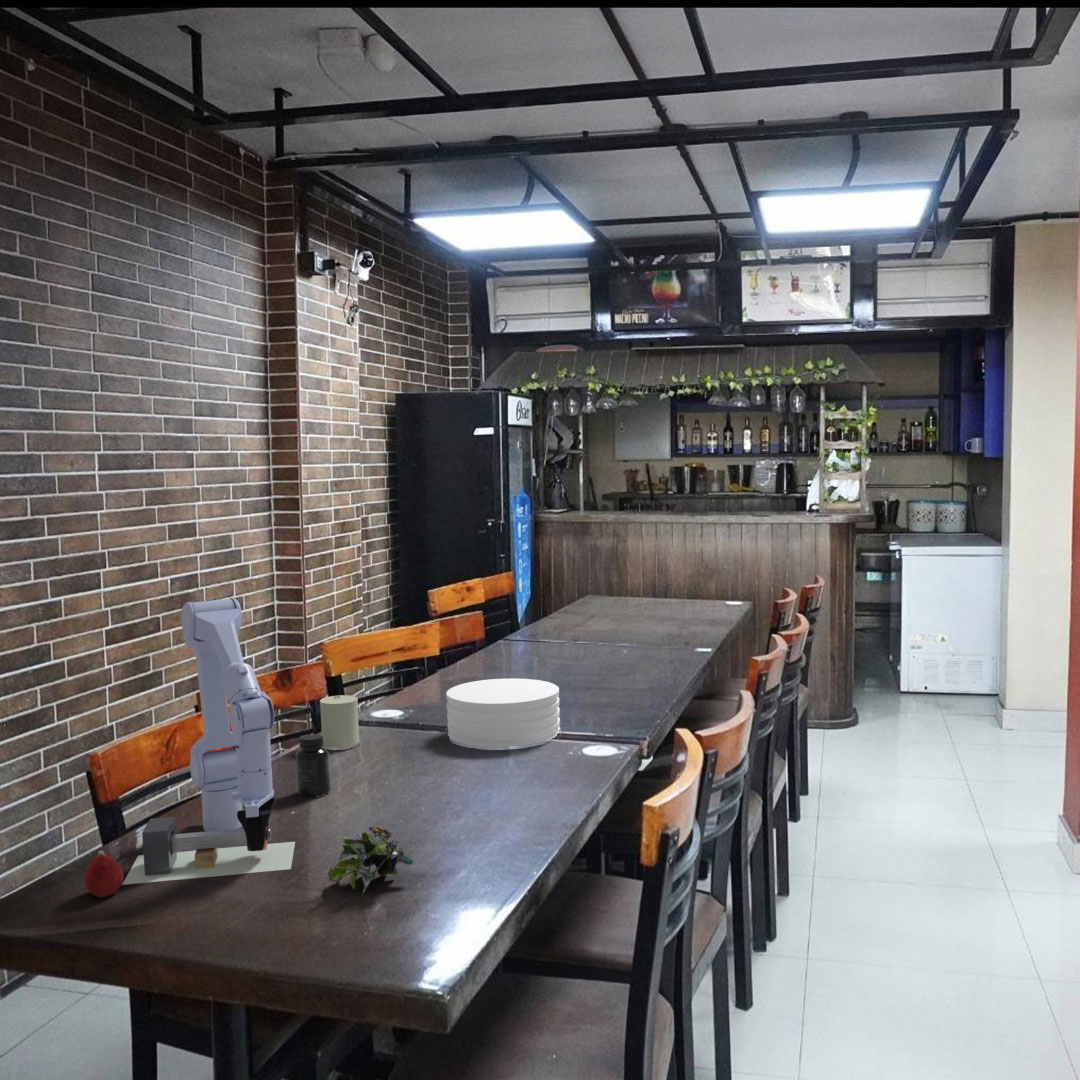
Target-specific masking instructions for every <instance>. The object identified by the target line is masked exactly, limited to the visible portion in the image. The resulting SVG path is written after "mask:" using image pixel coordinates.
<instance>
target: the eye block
mask: <svg viewBox="0 0 1080 1080" xmlns="http://www.w3.org/2000/svg"><path fill="white" fill-rule="evenodd" d="M175 818H176V817H175V816H167V817H156V818H150V819H149V820H148V822H147V824H146V826H145V827H144V829H143V831H142V850H143V855H144V869H145V876H149V875H159V874H170V872H171V870H172V868H173V866H174V863H175V861H176V859H177V852H178V851H172V852H170V835H172V834H176V821H175Z"/></svg>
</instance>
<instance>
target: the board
mask: <svg viewBox="0 0 1080 1080" xmlns="http://www.w3.org/2000/svg"><path fill="white" fill-rule="evenodd" d="M295 844H296V841H288V842H276V843H275V842H274V843H267V849H266V850H262V851H248V850H247V845H240V846H228V847H217V853H218V857H217V860H216V863H215V866H214V867H212V868H201V869H195V853H196V850H197V849H194V850H183V851H177V859H176V861H175V863H174V866H173V868H172V870H171V872H170V874H159V875H149V876H145V869H144V854H141V855H137V857H136V859H135V861H134V862H133V864H132V866H131V868H130V870H129V872H128V873H127V875H126V877H125V879H123V882H122V884H121V886H125V885H135V884H149V883H156V882H157V883H159V882H167V881H177V880H179V881H180V880H190V879H201V878H211V877H221V876H222V877H223V876H233V875H243V874H254V873H265V872H274V871H287V870H291V869H292V865H293V864H292V863H293V858H294V852H295V851H294V850H295V848H296V847H295V846H296V845H295Z"/></svg>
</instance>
